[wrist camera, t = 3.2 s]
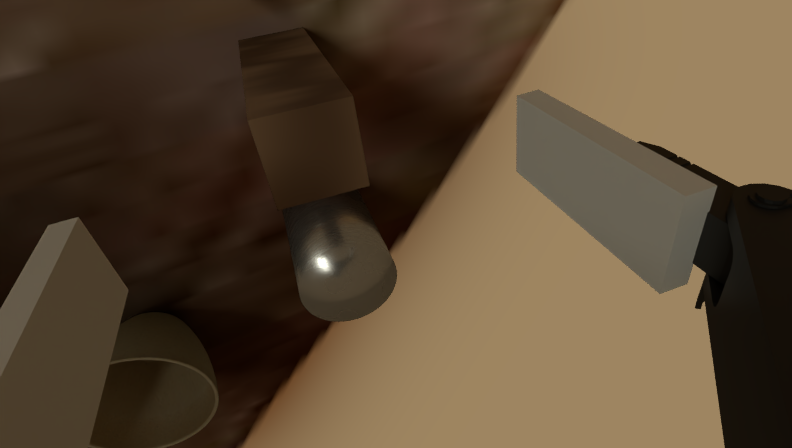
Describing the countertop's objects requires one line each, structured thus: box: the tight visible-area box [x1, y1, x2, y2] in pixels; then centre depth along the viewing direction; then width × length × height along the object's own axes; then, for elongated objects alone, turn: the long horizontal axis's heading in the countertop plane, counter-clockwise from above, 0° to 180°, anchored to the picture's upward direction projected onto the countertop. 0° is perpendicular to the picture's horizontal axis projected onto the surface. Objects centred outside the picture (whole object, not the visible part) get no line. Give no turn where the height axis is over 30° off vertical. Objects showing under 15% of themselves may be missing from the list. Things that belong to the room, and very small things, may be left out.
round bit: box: [282, 189, 397, 322], centre depth 32 cm, size 6×6×10 cm
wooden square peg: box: [238, 27, 370, 210], centre depth 24 cm, size 4×4×14 cm
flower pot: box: [89, 312, 219, 448], centre depth 35 cm, size 10×10×7 cm
